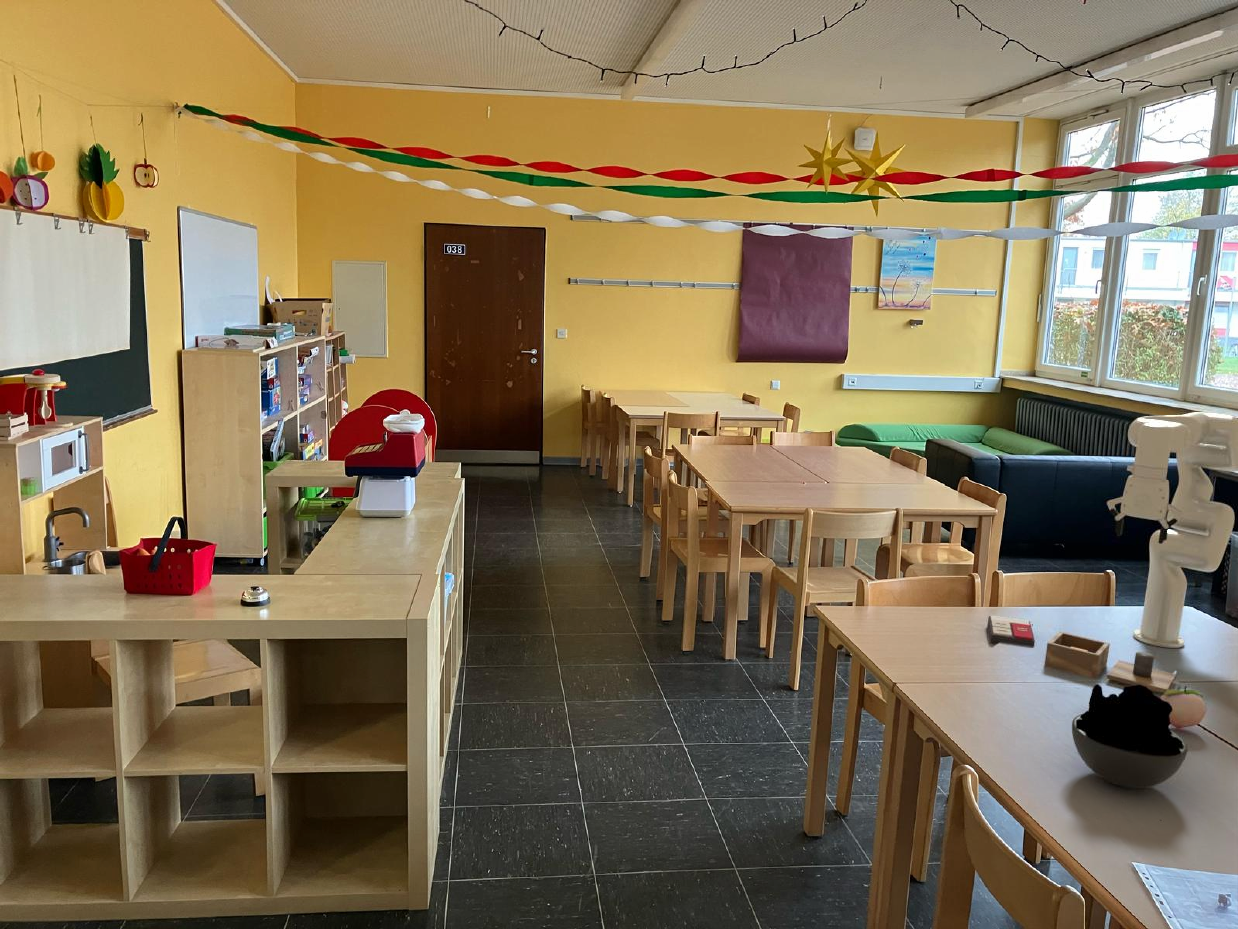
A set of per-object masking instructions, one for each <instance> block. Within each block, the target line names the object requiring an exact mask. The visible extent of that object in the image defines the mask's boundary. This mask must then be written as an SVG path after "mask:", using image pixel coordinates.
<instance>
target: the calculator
mask: <svg viewBox="0 0 1238 929" xmlns="http://www.w3.org/2000/svg"><path fill="white" fill-rule="evenodd" d="M986 628H987V633H988V639H989V644H990V645H998V644H999V643H1001V642H1002V643H1006V644H1007V643H1008V644H1015V645H1022V646H1028V647H1035V643H1036V642H1035V636H1034V632H1033V628H1032V624H1031V621H1030V620H1026V619H1022V618H1021V619H1020V618H1014V617H1005V616H999V615H998V616H997V615H988V618H987V627H986Z"/></svg>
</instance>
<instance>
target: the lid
mask: <svg viewBox="0 0 1238 929" xmlns="http://www.w3.org/2000/svg"><path fill="white" fill-rule="evenodd" d="M1134 655H1135V656H1134V663H1131V662H1127V661H1123V660H1117V662H1116V663H1115V664H1114V665H1113V666H1112V667H1111V668H1110V670H1109V671H1110V672H1108V673H1106V675H1107V679H1111V680H1115V681H1116V682H1118V683H1121V684H1125V685H1129V686H1135V685H1142V686H1146V687H1147V688H1148V689H1149V690H1150V691H1153V692H1157V693H1158V692H1162V693H1165V692H1167V691H1168V690H1169V688H1170V687H1171V685H1172V683H1173V682H1174V681H1176V677H1177V674H1176V673H1172V672H1168V671H1163V670H1160V669H1156V668H1153V667H1154V660H1155V656H1154V655H1153V654H1151V653H1149V652H1143V651H1136V652H1135V654H1134Z"/></svg>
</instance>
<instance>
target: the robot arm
mask: <svg viewBox="0 0 1238 929" xmlns="http://www.w3.org/2000/svg"><path fill="white" fill-rule="evenodd" d="M1127 438H1128V442H1129V443H1130V445H1132V446H1133V447H1135V455H1134V461H1133V462H1134V463H1133V464H1132V465H1129V464H1128V465H1127V466H1126V467H1127V468H1126V471H1129V472H1131V475H1128V477H1127V480H1126V481H1125V482H1126V483H1125V487H1124V490H1123V494H1122V496H1120V497H1117V498H1114V499H1110V500H1108V501H1106V505H1107V507H1108V509H1109V512H1110V514H1111V515H1112V516H1113V517H1114V520H1115V527H1114V532H1115V533H1116V537H1121V536H1122V535H1123V530H1124V524H1125V520H1124V517H1125V516H1129V517H1133V518H1139V519H1146V520H1153V521H1158V522H1159V523H1160V524H1161V526H1162V527H1161V528H1160V529H1157V530H1156V531H1154V532H1153V533H1152V535H1151V536H1150V539H1149V546H1148V547H1149V570H1148V577H1147V583H1146V591H1145V596H1144V597H1145V598H1144V604H1143V611H1142V615H1141V616H1142V617H1141V624H1140V628H1138V629H1135V630H1134V631H1133V634H1132V635H1133V637H1134V638H1135V639H1136V640H1138V641H1140V642H1142V643H1145V644H1148V645H1151V646H1156V647H1162V648H1169V649H1170V648H1172V649H1178V648H1182V647H1183V646H1185V640H1184V639H1183V637H1181V636H1180V631H1181V626H1182V624H1181V623H1182V617H1183V611H1184V605H1185V599H1186V593H1187V587H1188V582H1187V578H1186V575H1185V573H1184V571H1183V570H1182V568H1186V569H1189V570H1194V571H1198V572H1205V573H1212V572H1215V571H1216V570H1217V569H1218V568H1219V566H1220V564H1221V562H1222V560H1223V557H1224V554H1225V552H1226V548H1227V546H1228V543H1229V540H1230V538H1231V534H1232V532H1233V528H1234V525H1235V512H1234V509H1233V508H1232V507H1231V506H1230V505H1228V504H1225V503H1223V502H1219V501H1218V502H1217V501H1211V497H1212V495H1213V492H1214V486H1213V484H1212V482H1211V479H1210V478H1209V476H1208V475H1207V474H1206V473H1205V471H1204V470H1203V469H1202V468H1205V469H1211V470H1217V471H1224V472H1232V473H1233V472H1238V418H1237V417H1236V416H1233V415H1227V414H1220V413H1212V412H1202V411H1194V412H1190V413H1189V412H1188V413H1185V414H1181V415H1180V414H1177V415H1175V414H1173V415H1171V414H1170V415H1149V416H1148V415H1147V416H1141V417H1137V418H1136V419H1134V421H1132V423H1130V425H1129V428H1128V431H1127ZM1171 453H1175V454H1176V464H1177V471H1178V485H1177V488H1176V491H1175V493H1174V495H1173V498H1172V501H1171V503H1169V499H1170V485H1169V484H1170V482H1169V481H1170V480H1168V479H1167V474H1168V467H1169V462H1170V455H1171ZM1118 504H1121V505H1120V512H1119V511H1118V510H1117V508H1116V505H1118ZM1171 528H1172V529H1171Z"/></svg>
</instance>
